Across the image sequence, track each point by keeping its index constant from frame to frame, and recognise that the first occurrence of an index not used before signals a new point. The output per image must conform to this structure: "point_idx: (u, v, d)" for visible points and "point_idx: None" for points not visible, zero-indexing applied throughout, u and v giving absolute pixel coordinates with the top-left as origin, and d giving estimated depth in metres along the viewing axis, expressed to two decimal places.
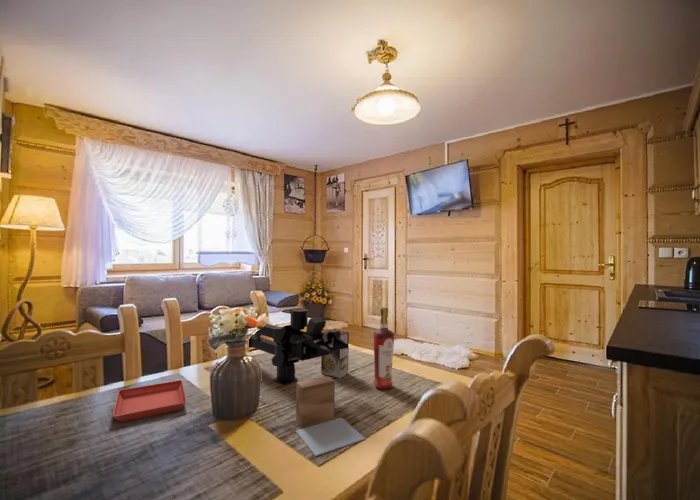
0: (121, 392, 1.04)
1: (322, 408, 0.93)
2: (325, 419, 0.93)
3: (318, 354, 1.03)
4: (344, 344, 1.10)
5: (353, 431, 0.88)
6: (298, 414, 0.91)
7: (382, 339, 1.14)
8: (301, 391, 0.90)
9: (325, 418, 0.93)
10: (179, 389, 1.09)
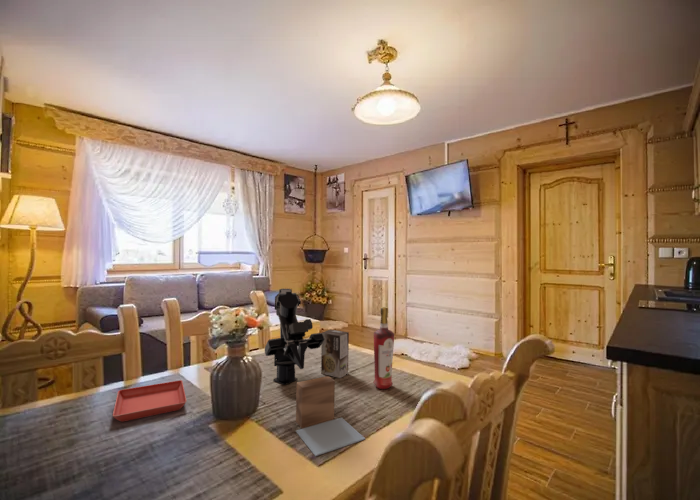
0: (121, 392, 1.04)
1: (322, 408, 0.93)
2: (325, 419, 0.93)
3: (294, 360, 1.04)
4: None
5: (353, 431, 0.88)
6: (298, 414, 0.91)
7: (382, 339, 1.14)
8: (301, 391, 0.90)
9: (325, 418, 0.93)
10: (179, 389, 1.09)
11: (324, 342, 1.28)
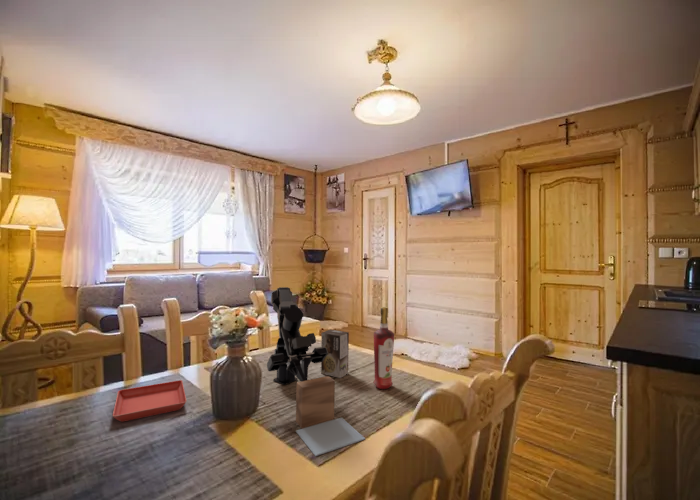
0: (121, 392, 1.04)
1: (322, 408, 0.93)
2: (325, 419, 0.93)
3: (297, 375, 1.01)
4: None
5: (353, 431, 0.88)
6: (298, 414, 0.91)
7: (382, 339, 1.14)
8: (301, 391, 0.90)
9: (325, 418, 0.93)
10: (179, 389, 1.09)
11: (324, 342, 1.28)
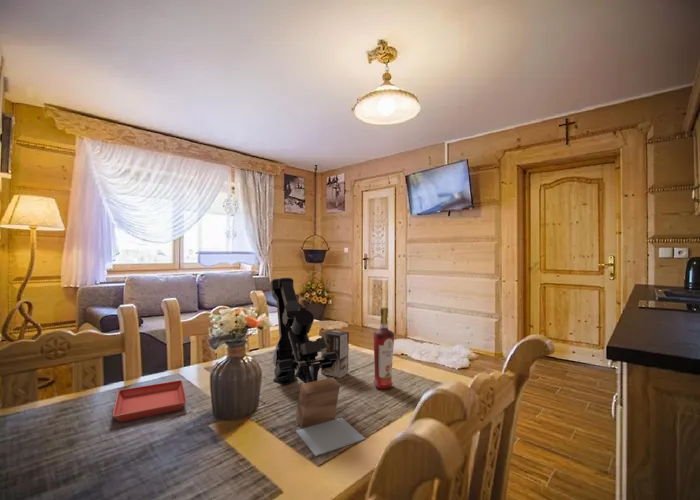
0: (121, 392, 1.04)
1: (324, 410, 0.92)
2: (325, 419, 0.93)
3: None
4: None
5: (353, 431, 0.88)
6: (299, 414, 0.90)
7: (382, 339, 1.14)
8: (305, 396, 0.87)
9: (325, 418, 0.93)
10: (179, 389, 1.09)
11: None
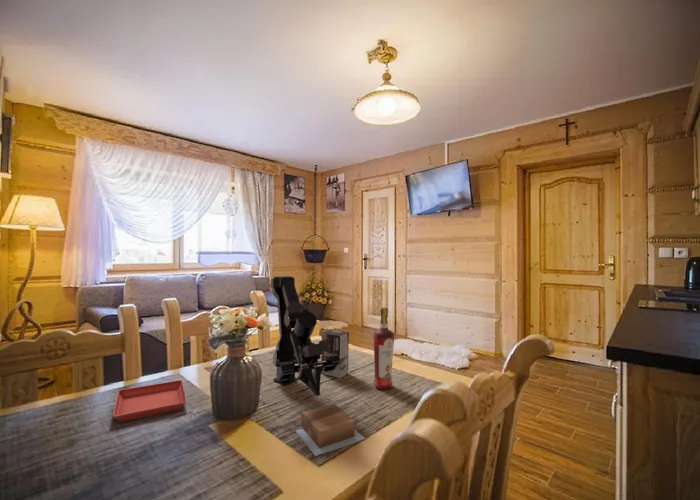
0: (121, 392, 1.04)
1: None
2: None
3: (309, 386, 0.94)
4: (317, 389, 0.93)
5: None
6: (305, 424, 0.87)
7: (382, 339, 1.14)
8: (317, 443, 0.81)
9: None
10: (179, 389, 1.09)
11: None
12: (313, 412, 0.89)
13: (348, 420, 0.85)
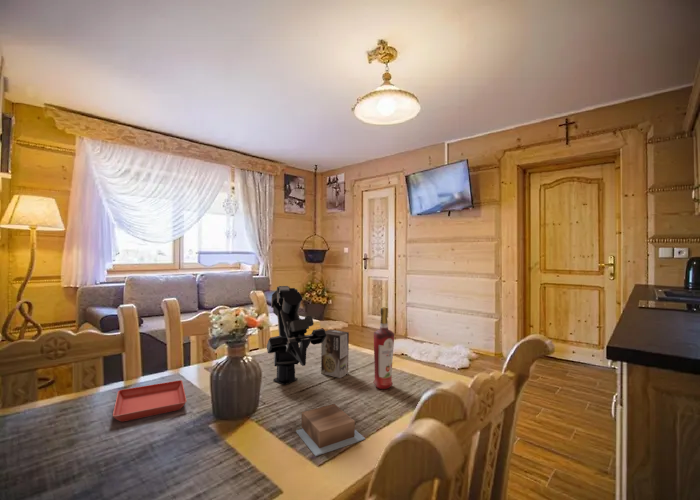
0: (121, 392, 1.04)
1: None
2: None
3: (296, 357, 1.04)
4: (303, 360, 1.03)
5: None
6: (305, 424, 0.87)
7: (382, 339, 1.14)
8: (317, 443, 0.81)
9: None
10: (179, 389, 1.09)
11: (324, 342, 1.28)
12: (313, 412, 0.89)
13: (348, 420, 0.85)
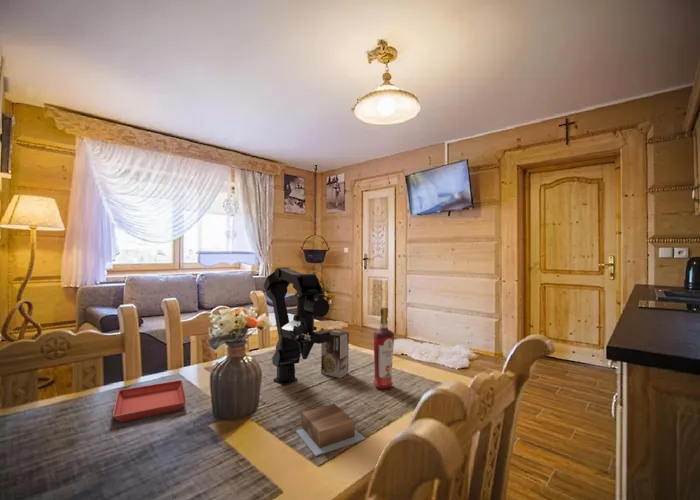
0: (121, 392, 1.04)
1: None
2: None
3: None
4: None
5: None
6: (305, 424, 0.87)
7: (382, 339, 1.14)
8: (317, 443, 0.81)
9: None
10: (179, 389, 1.09)
11: (324, 342, 1.28)
12: (313, 412, 0.89)
13: (348, 420, 0.85)
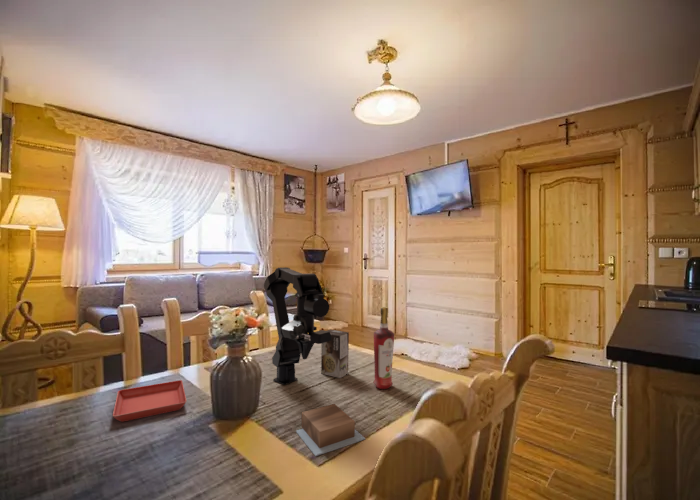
0: (121, 392, 1.04)
1: None
2: None
3: None
4: None
5: None
6: (305, 424, 0.87)
7: (382, 339, 1.14)
8: (317, 443, 0.81)
9: None
10: (179, 389, 1.09)
11: None
12: (313, 412, 0.89)
13: (348, 420, 0.85)
